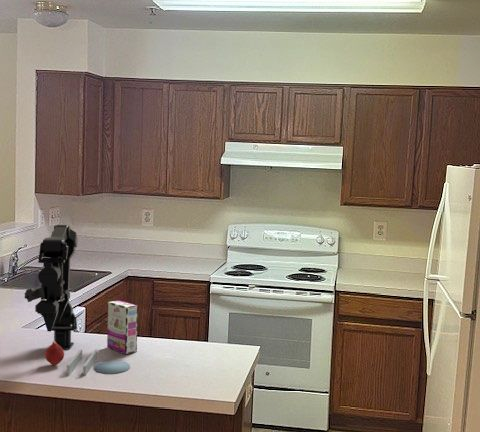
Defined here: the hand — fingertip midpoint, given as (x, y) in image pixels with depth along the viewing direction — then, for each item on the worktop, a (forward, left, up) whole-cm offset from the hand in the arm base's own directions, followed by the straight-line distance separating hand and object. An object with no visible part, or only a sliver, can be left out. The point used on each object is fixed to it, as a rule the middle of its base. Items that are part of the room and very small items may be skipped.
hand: (53, 327), depth 209 cm
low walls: (0, +9, -13) cm, 16 cm away
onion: (0, 0, -13) cm, 13 cm away
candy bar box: (-19, +18, -13) cm, 30 cm away
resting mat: (0, +19, -13) cm, 23 cm away
